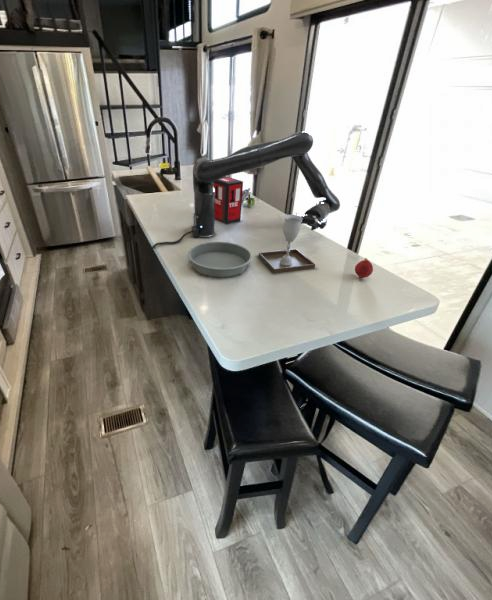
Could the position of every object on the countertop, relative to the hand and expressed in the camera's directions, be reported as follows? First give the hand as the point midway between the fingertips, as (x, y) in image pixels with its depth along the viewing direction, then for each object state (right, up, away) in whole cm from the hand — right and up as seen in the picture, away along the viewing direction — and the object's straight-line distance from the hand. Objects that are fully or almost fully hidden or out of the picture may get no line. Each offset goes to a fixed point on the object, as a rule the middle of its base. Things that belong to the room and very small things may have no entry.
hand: (301, 225), depth 127 cm
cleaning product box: (-29, +14, +44) cm, 54 cm away
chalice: (-7, -15, -1) cm, 16 cm away
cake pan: (-33, -16, -2) cm, 37 cm away
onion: (+18, -22, -11) cm, 31 cm away
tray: (-7, -15, -1) cm, 16 cm away
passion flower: (-15, +27, +64) cm, 71 cm away
